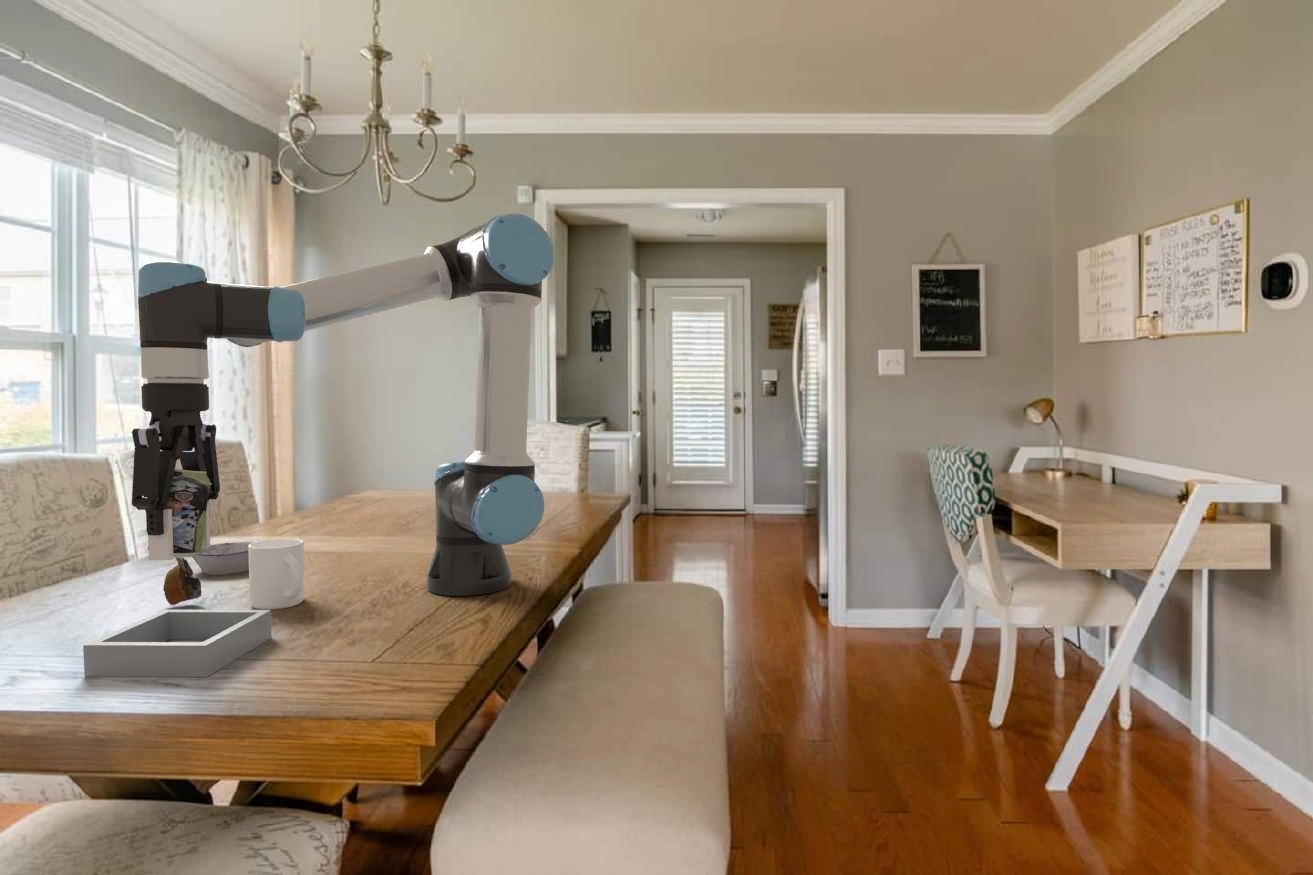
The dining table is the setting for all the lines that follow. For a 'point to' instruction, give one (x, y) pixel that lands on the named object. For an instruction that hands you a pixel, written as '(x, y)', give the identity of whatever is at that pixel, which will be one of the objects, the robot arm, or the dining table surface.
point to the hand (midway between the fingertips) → (180, 552)
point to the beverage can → (188, 510)
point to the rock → (181, 583)
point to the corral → (177, 644)
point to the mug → (276, 573)
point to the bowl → (224, 558)
